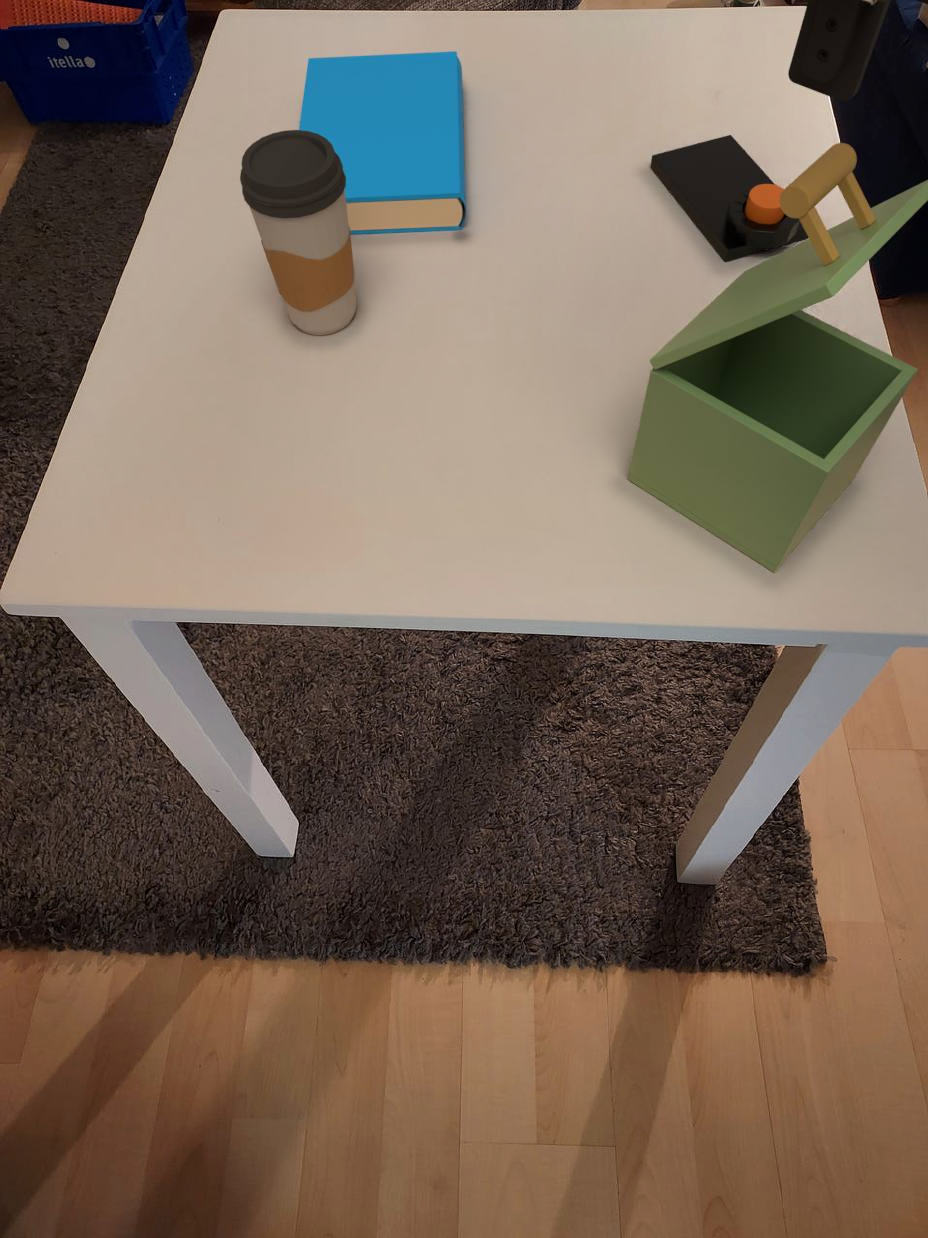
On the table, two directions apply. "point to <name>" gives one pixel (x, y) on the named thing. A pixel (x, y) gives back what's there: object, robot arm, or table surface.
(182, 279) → the table surface
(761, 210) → the button
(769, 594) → the table surface
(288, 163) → the coffee cup
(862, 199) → the lid
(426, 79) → the book
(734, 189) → the button housing
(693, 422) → the chest
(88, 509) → the table surface
